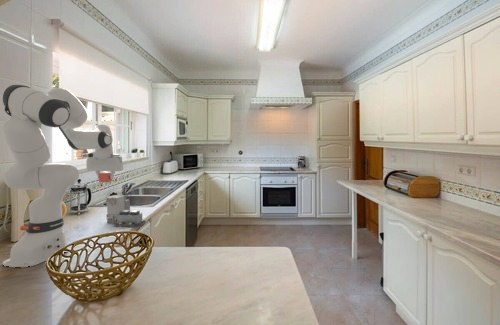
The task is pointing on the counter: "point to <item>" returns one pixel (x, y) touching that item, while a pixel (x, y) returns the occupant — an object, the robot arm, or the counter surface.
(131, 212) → the plunger
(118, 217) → the breaker panel
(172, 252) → the counter surface
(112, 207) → the circuit breaker
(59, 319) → the counter surface
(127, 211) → the plunger
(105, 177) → the red cube
